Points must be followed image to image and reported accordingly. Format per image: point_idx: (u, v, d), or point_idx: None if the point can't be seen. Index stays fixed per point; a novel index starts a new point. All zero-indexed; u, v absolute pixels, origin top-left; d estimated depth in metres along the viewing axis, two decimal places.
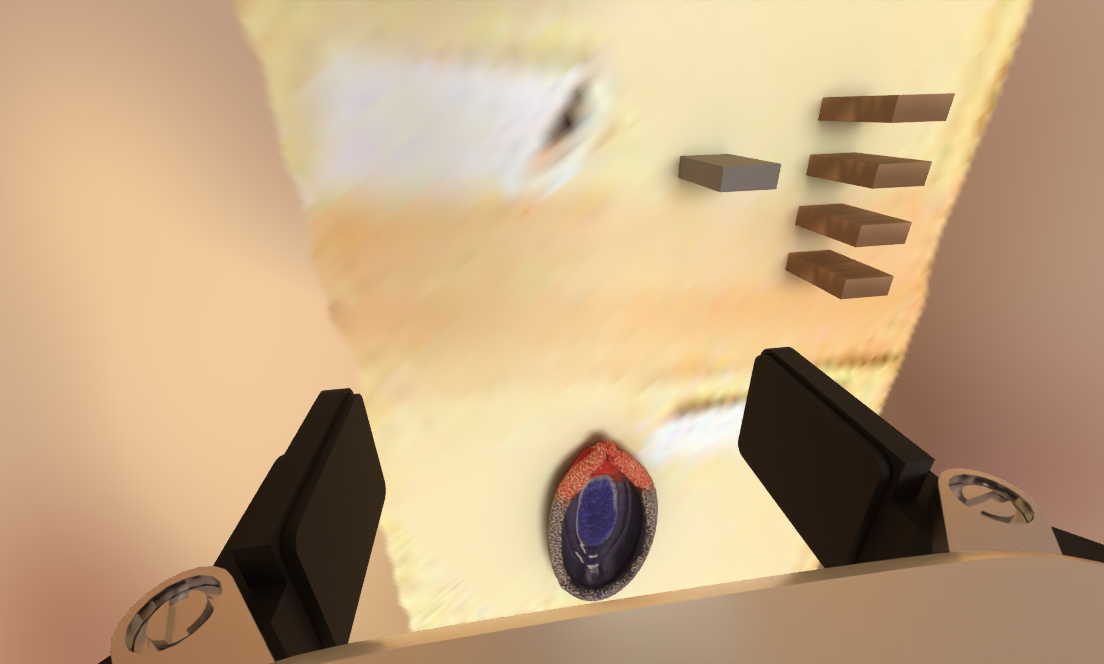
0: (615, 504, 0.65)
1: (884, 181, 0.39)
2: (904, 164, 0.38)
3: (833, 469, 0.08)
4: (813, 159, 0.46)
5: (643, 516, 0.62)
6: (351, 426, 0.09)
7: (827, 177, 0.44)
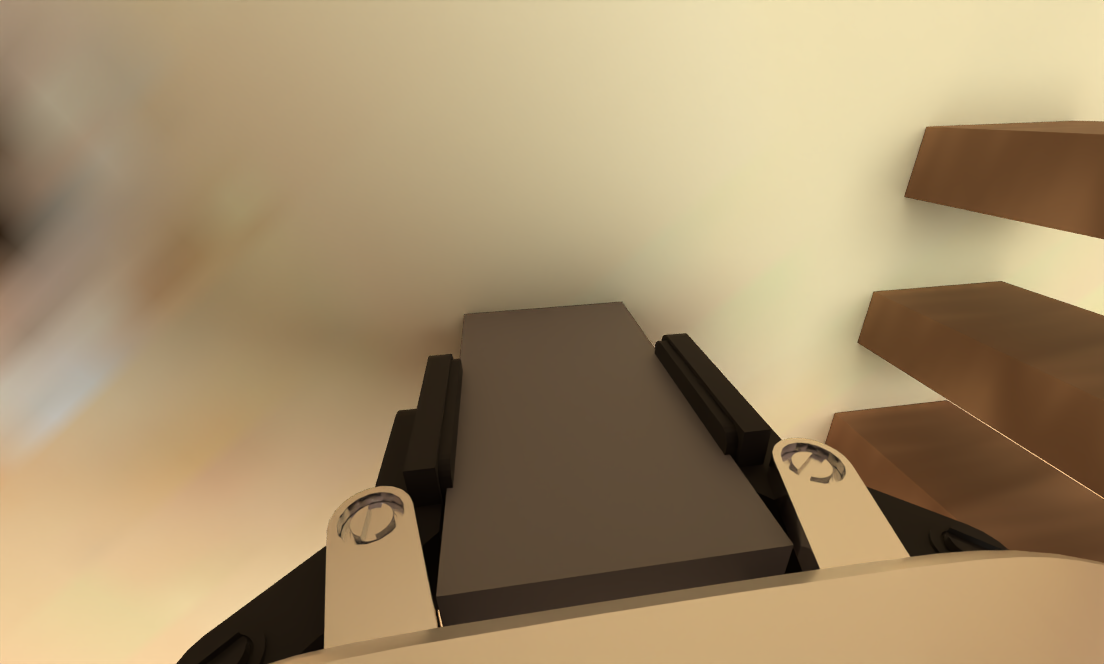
0: None
1: None
2: None
3: None
4: (882, 309, 0.15)
5: None
6: (459, 385, 0.10)
7: (938, 387, 0.13)
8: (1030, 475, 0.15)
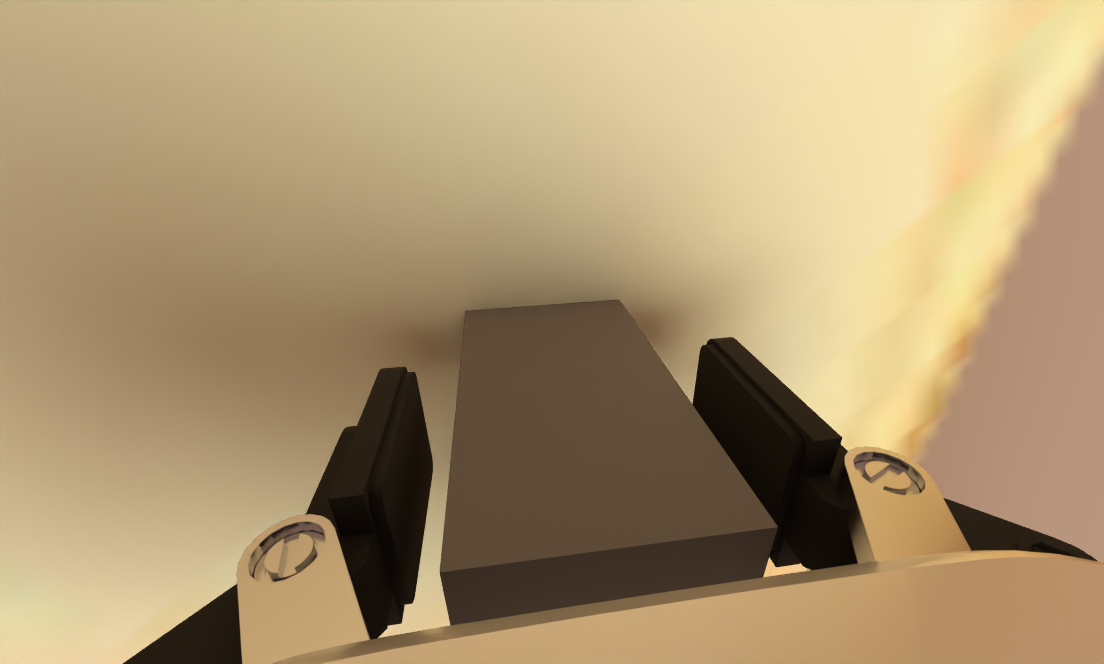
0: None
1: None
2: None
3: (760, 450, 0.09)
4: None
5: None
6: (410, 400, 0.09)
7: None
8: None
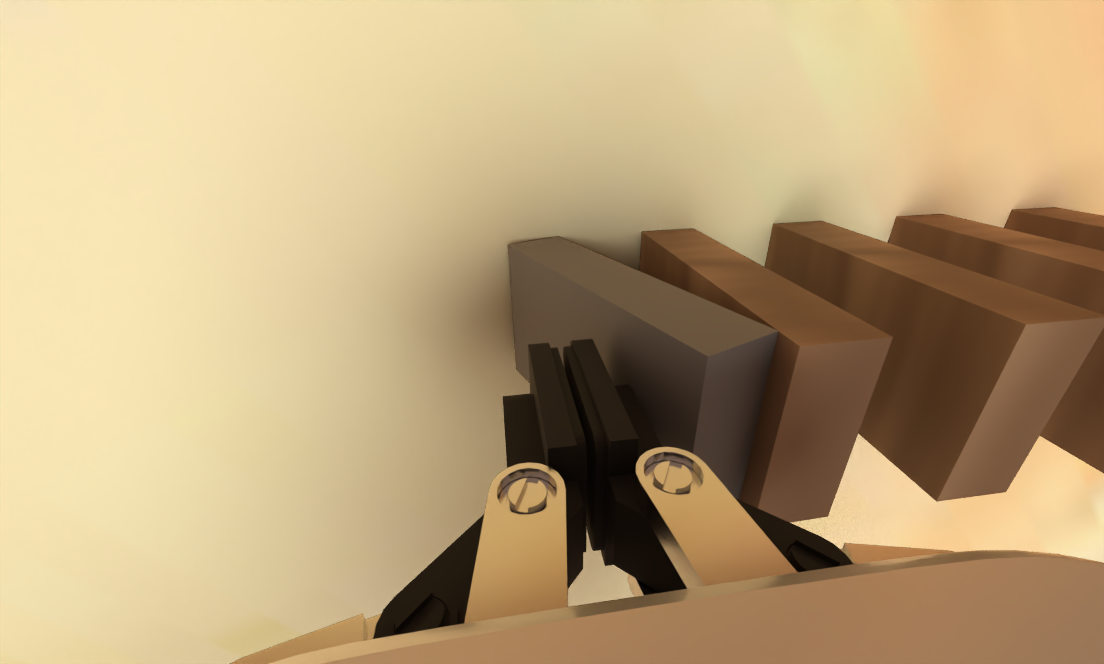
0: None
1: (1004, 465, 0.11)
2: (980, 424, 0.10)
3: (586, 450, 0.09)
4: None
5: None
6: None
7: None
8: None
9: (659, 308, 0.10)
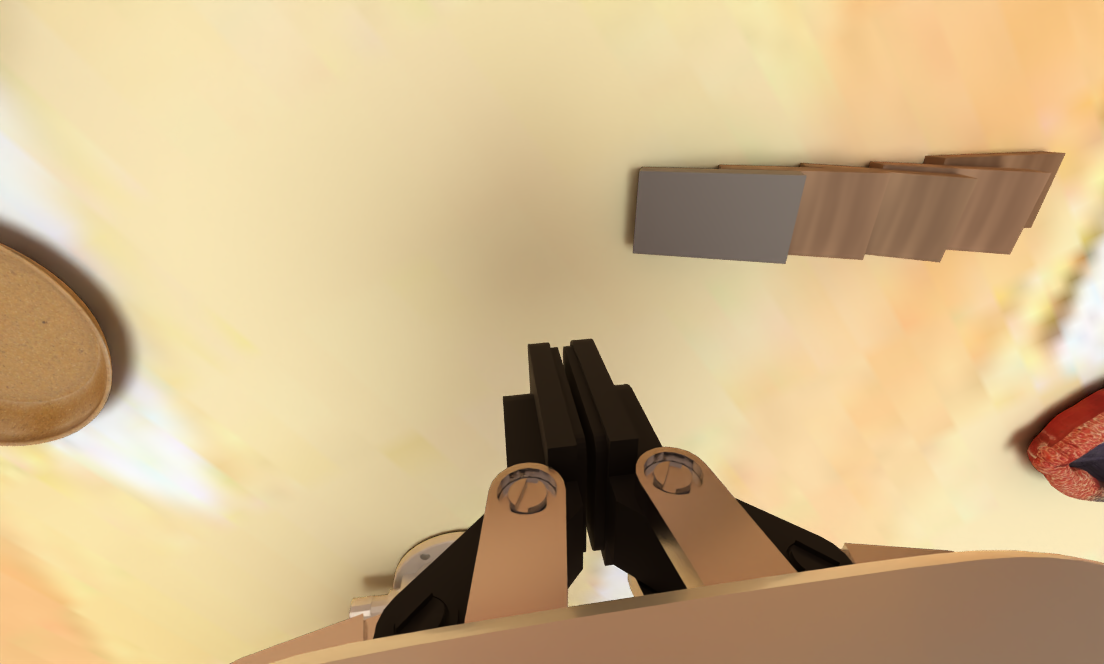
0: None
1: None
2: (956, 223, 0.27)
3: (586, 450, 0.09)
4: None
5: None
6: None
7: None
8: None
9: (762, 172, 0.25)
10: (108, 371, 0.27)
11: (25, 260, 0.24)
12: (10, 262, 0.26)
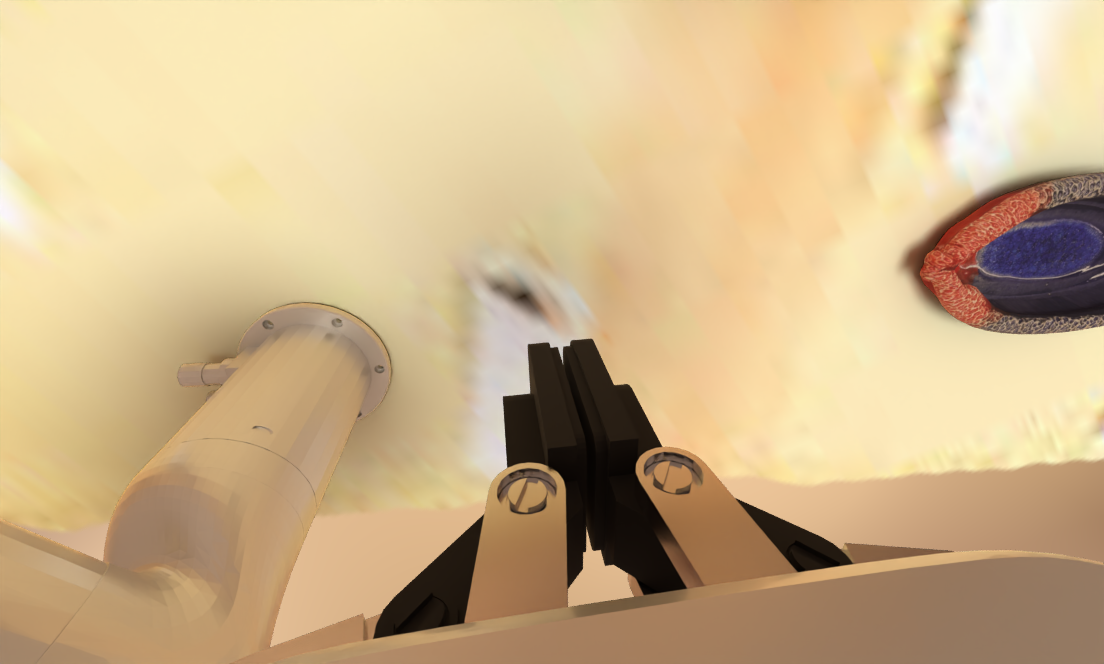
0: (1043, 223, 0.43)
1: None
2: None
3: (586, 450, 0.09)
4: None
5: (1095, 197, 0.39)
6: None
7: None
8: None
9: None
10: None
11: None
12: None
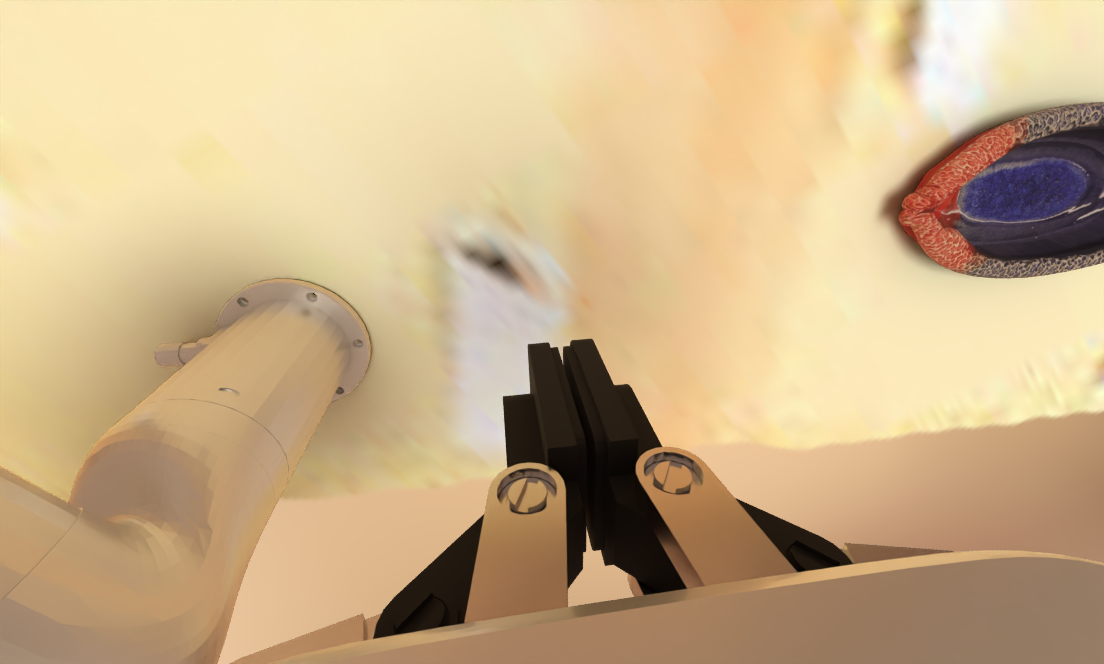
0: (1024, 163, 0.42)
1: None
2: None
3: (586, 450, 0.09)
4: None
5: (1074, 130, 0.38)
6: None
7: None
8: None
9: None
10: None
11: None
12: None
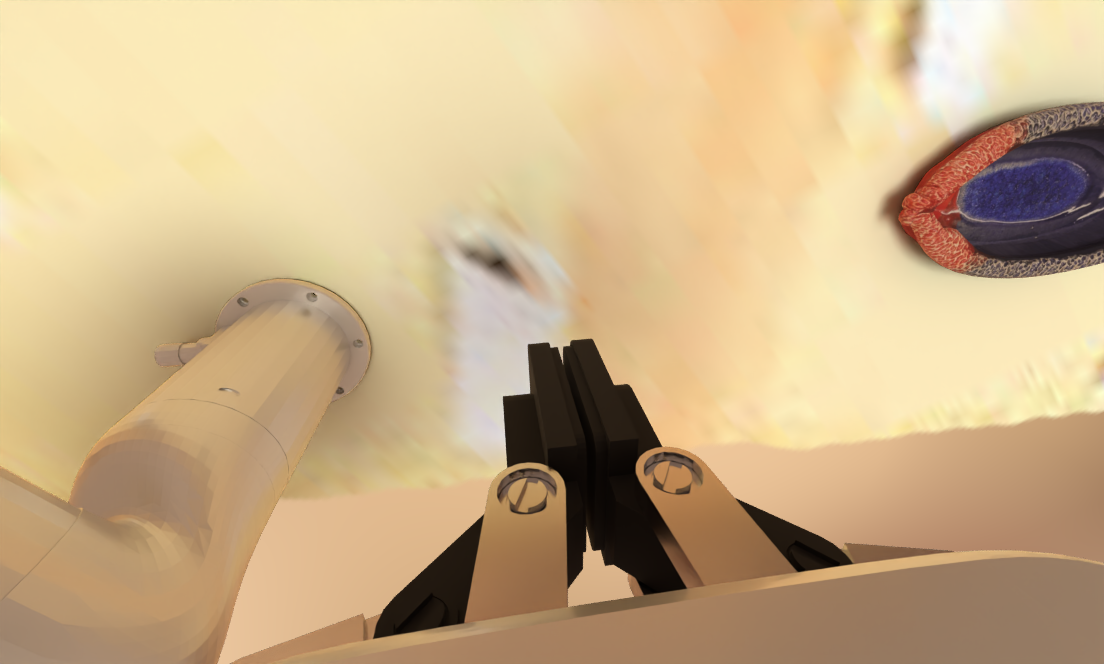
0: (1024, 163, 0.42)
1: None
2: None
3: (586, 450, 0.09)
4: None
5: (1073, 130, 0.38)
6: None
7: None
8: None
9: None
10: None
11: None
12: None
